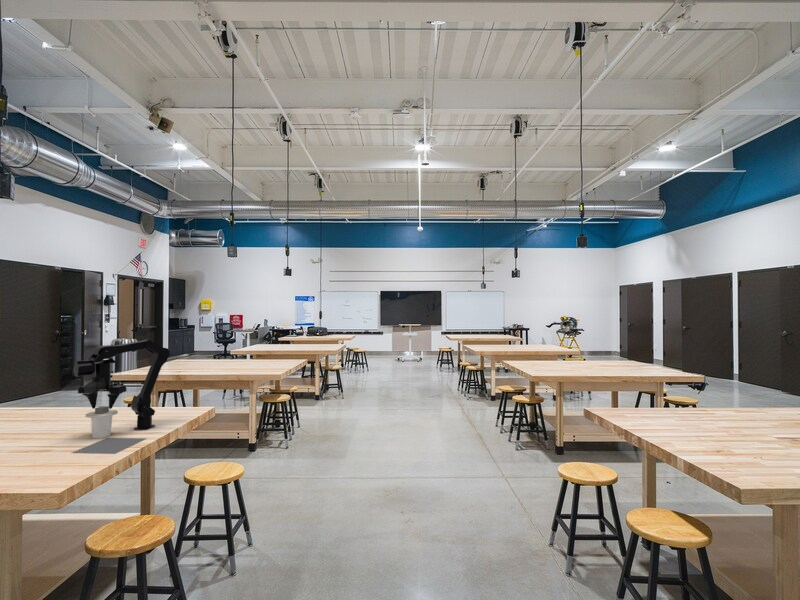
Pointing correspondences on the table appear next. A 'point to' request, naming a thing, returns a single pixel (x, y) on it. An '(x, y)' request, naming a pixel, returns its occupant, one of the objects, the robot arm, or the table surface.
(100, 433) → the white cup
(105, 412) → the lid
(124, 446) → the charcoal mat
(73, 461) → the table surface
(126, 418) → the table surface
